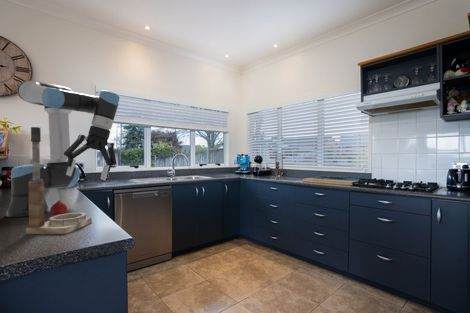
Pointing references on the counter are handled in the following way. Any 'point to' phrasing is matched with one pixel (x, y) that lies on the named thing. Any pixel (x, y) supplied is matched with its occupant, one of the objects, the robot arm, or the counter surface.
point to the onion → (58, 208)
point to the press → (36, 201)
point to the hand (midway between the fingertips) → (86, 177)
